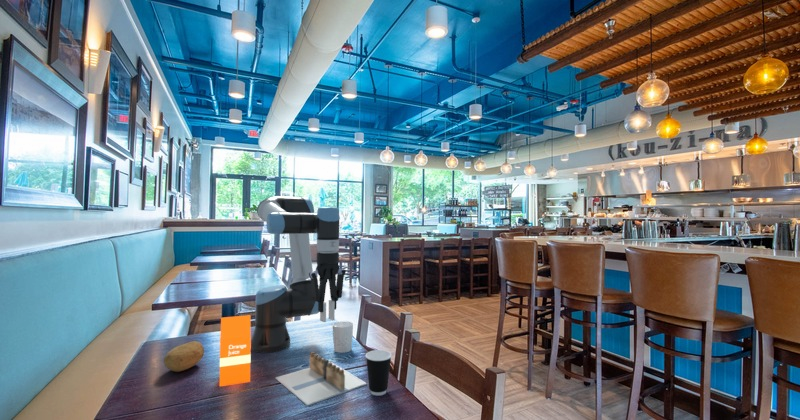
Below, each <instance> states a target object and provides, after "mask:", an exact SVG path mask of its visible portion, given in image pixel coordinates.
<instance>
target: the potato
mask: <svg viewBox="0 0 800 420" xmlns="http://www.w3.org/2000/svg"><path fill="white" fill-rule="evenodd" d="M204 349H205V348H204V346H203V344H202V343H201V342H200V341H196V340H193V341H188V342H186V343H184V344H180V345H177V346H175V347H174V348H172V349H171V350H169V351H168V352H167V353H166V355H165V356H164V358H163V359H164V360H163V363H164V367H166V369H168V370H170V371H172V372H174V373H175V372H177V373H179V372H180V373H181V372H184V371H186V370H188V369H190V368H192V367H194V366H195V365H197V364H198V363H199V362H200V361H201V360H202V359H203V356H204V354H205V350H204Z"/></svg>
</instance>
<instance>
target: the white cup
mask: <svg viewBox="0 0 800 420" xmlns="http://www.w3.org/2000/svg"><path fill="white" fill-rule="evenodd" d="M353 331H354V323H353V322H351V321H347V320H345V321H344V320H343V321H336V322H334V323H332V340H333V351H334V352H335V353H338V354H339V353H340V354H341V353H343V354H344V353H348V352H350V351H352V346H353V345H352V343H353V333H354V332H353Z"/></svg>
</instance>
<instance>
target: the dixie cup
mask: <svg viewBox="0 0 800 420" xmlns="http://www.w3.org/2000/svg"><path fill="white" fill-rule="evenodd" d="M364 356H365V359H366V369H367V377H368V378H367V379H368V388H369V391H370V394H371V395H373V396H383V395H386V394H387V390H388V386H389V385H388V384H389V376H390V368H391V360H392V356H393V355H392V353H391V352H390V351H388V350H384V349H375V350H374V349H373V350H370V351H367V352H366V354H365V355H364Z"/></svg>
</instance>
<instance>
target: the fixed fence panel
mask: <svg viewBox="0 0 800 420" xmlns="http://www.w3.org/2000/svg"><path fill="white" fill-rule="evenodd" d="M329 362H330V363H329ZM331 362H332V361H329V360H328V359H326V360H324V379H326V380H327V381H328V382H330V383H331V384H333V385H334V386H336V387H337V388H338V389H340V390H344V389H345V375H344V370H345V369H344V368H342V370H340V368H339V367H340V366H339V367H337V368H336V365H337V364H336V365H332V363H333V362H332V363H331ZM343 369H344V370H343Z"/></svg>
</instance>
